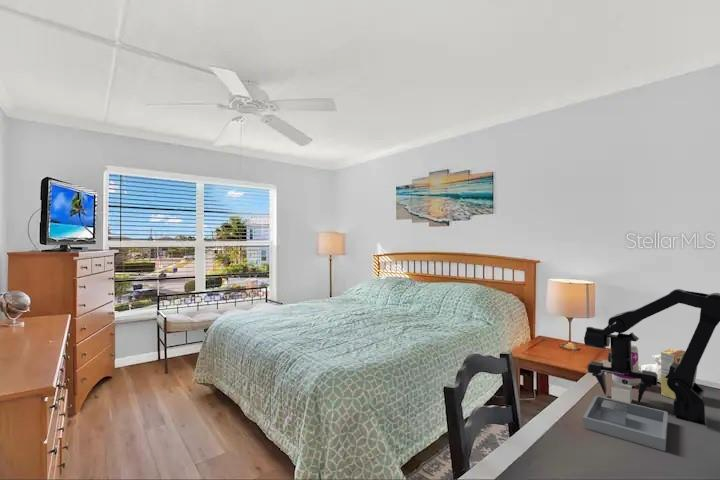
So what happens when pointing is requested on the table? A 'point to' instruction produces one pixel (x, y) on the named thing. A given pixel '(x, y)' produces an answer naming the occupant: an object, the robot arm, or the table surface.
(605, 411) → the steel block
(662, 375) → the candy box
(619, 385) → the cream box
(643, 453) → the table surface
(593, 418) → the tray
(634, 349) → the supplement can
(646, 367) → the duck figurine
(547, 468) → the table surface
